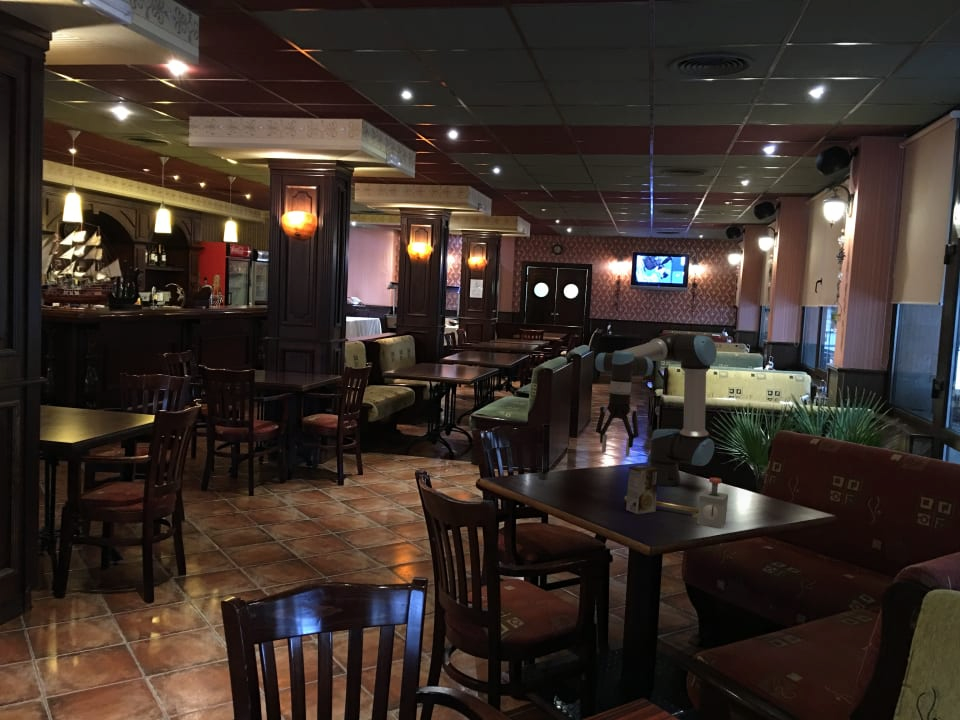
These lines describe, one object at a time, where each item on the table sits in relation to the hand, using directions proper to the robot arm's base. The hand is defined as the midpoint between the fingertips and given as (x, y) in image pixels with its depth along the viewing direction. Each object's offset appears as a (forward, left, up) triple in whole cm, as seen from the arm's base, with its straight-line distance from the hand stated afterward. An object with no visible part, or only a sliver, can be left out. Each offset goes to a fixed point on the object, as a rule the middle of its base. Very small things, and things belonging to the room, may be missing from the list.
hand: (615, 454), depth 279 cm
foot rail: (-7, +18, -19) cm, 27 cm away
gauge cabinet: (-1, +36, -19) cm, 41 cm away
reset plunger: (-1, +36, -9) cm, 37 cm away
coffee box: (0, +11, -20) cm, 22 cm away
